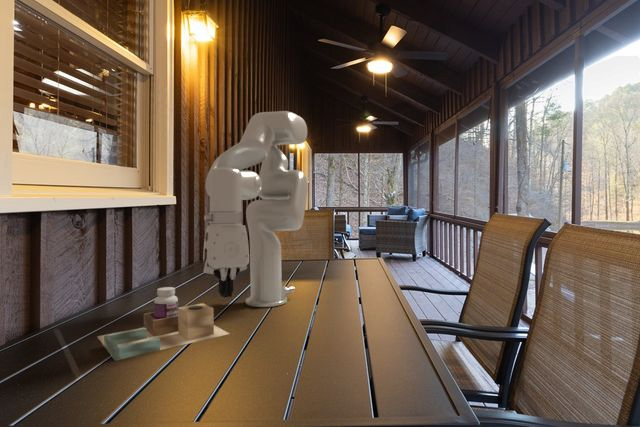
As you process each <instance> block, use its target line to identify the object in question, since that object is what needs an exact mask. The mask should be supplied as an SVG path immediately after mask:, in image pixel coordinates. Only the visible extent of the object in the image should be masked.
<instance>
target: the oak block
mask: <svg viewBox="0 0 640 427" xmlns="http://www.w3.org/2000/svg"><path fill="white" fill-rule="evenodd" d="M214 314H215V312H214V307H212V306H209V305H207V304H205V303H203V302H202V303H197V304H193V305H191V304H190V305H186V306H180V307H179V306H178V333H179V334H180V335H181V336H183V337H184V338H186V339H187V340H191V339H196V338H200V337H204V336H209V335H213V334H214V325H215V323H214V320H215V319H214V318H215V316H214Z"/></svg>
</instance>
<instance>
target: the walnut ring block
mask: <svg viewBox="0 0 640 427" xmlns="http://www.w3.org/2000/svg"><path fill="white" fill-rule="evenodd" d="M143 327H144V328H147V331H148V332H149V333H151V334H152V335H153V336H159V335H163V334H168V333H173V332H178V316H173V317H168V318H162V319H157V320H156V319H155V318H154V311H151V312H146V313H143Z"/></svg>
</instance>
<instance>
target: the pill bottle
mask: <svg viewBox="0 0 640 427" xmlns="http://www.w3.org/2000/svg"><path fill="white" fill-rule="evenodd" d="M156 290H157V291H156V292H157V293H156V295H157V297H155V299H154V302H153V304H154V306H153V307H154V310H153V312H154V318H155V319H156V320H157V319H162V318H168V317H173V316H178V308H179V299H178V296H176V295H175V294H176V287H172V286H163V287H159V288H157V289H156Z"/></svg>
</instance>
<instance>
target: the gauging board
mask: <svg viewBox="0 0 640 427" xmlns="http://www.w3.org/2000/svg"><path fill="white" fill-rule="evenodd" d="M227 335H231V334H230V333H229V332H228V331H226V330H224V329H222V328H220V327H219V326H217V325H215V324H214V334H213V335H209V336H204V337H200V338H196V339H191V340H187V339H186V338H184V337H183V336H181V335H180V334H179V333H178V332H173V333H168V334H163V335H159V336H153V335H152V334H151V333H149V332H148V331H147V328H144V326H143V327H139V328H133V329H128V330H123V331H118V332H112V333H107V334H104V335H103V334H102V335H98V336H96V337H97V339H98V340H99V341H100V343H101V344H102V346H103V347H104V348H105V349H106V350H107V352H108V353H109V354H110V356H111V357H112V358H113V360H114V361H119V360H123V359H128V358H133V357H136V356H140V355H145V354H149V353H154V352H159V351H163V350H167V349H171V348H174V347H176V348H177V347H179V346H183V345H188V344H193V343H197V342H201V341H205V340H209V339H213V338H218V337H222V336H227Z"/></svg>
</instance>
